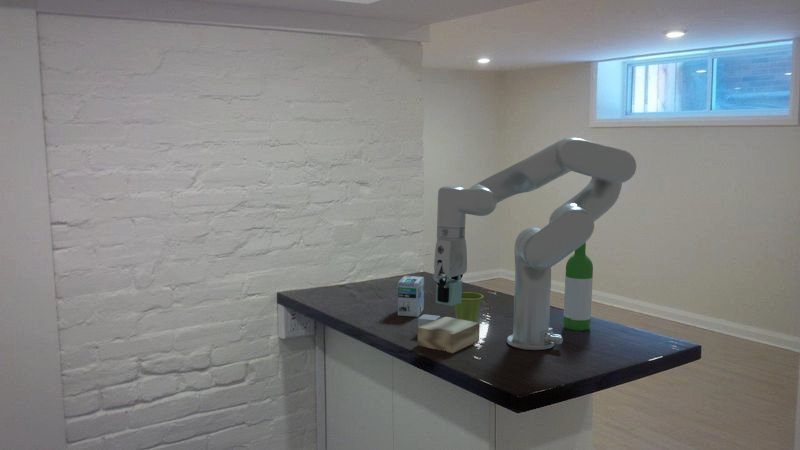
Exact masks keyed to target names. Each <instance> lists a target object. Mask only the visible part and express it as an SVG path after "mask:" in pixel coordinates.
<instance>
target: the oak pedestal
mask: <svg viewBox="0 0 800 450" xmlns="http://www.w3.org/2000/svg"><path fill="white" fill-rule="evenodd" d="M480 324H481V323H480V322H472V321H467V320H461V319H456V317H455V318H454V317H450V316H444V317H440V319H438V320H435V321H433V322H430V323H427V324H425V325H422V326H420V327H418V326H417V346H419V347H423V348H427V349H432V350H436V349H437V351H441V350H442V351H441V352H445V351H446V353H450V354H454V353H456V352H458V351H460V350H463V349H464V348H467V347H469V346H471V345H473V344H475V343H478V342H480V331H481V330H480Z"/></svg>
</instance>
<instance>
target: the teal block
mask: <svg viewBox="0 0 800 450" xmlns="http://www.w3.org/2000/svg"><path fill="white" fill-rule="evenodd" d="M442 279H443V280H444V282H445V278H442ZM435 284H436V286H435V304H440V305H444V306H445V305H446V306H451V307H452V306H455V305H456V304H459V303H461V296H462V291H463V286H462V285H463V281H462V279H461V280H454V279H450V278H449V282H448V287H447V288H449V302H448V303H444V302H439V301H438V300H437V297H438V287H437V283H436V282H435Z"/></svg>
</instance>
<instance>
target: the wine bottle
mask: <svg viewBox="0 0 800 450" xmlns="http://www.w3.org/2000/svg"><path fill="white" fill-rule="evenodd" d="M586 244H587V241H586V242H585V243H584V244H583V245H582V246H580V247H579V248H578V249H576V250H575V251H574V254H573V255H570V257H569V258H568V259H567V261H566V265H565V276H564V277H565V278H564V279H565V280H564V295H563V297H564V298H563V299H564V300H563V321H562V322H563V326H564V328H565V329H567V330H571V331H577V332H581V331H582V332H583V331H588V330H589V329H590V328H591V321H592V320H591V318H592V303H593V301H592V300H593V299H592V298H593V278H594V277H593V276H594V275H593V274H594V267H593V266H594V264H593V262H592V260H591V258H590V257H589V256H587V254H586V252H587V251H586V247H587V245H586Z"/></svg>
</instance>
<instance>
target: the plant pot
mask: <svg viewBox="0 0 800 450" xmlns="http://www.w3.org/2000/svg"><path fill="white" fill-rule="evenodd" d="M483 298H484V295H483V294H481V293H477V292H468V291H467V292H465V291H464V292H462V296H461V303H459V304H456V305H454V310H455V318H456V319H461V320H467V321H472V322H477V323H479V322H478V320H479V316H480V314H479V313H480V307H481V303H482V300H483Z"/></svg>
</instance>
